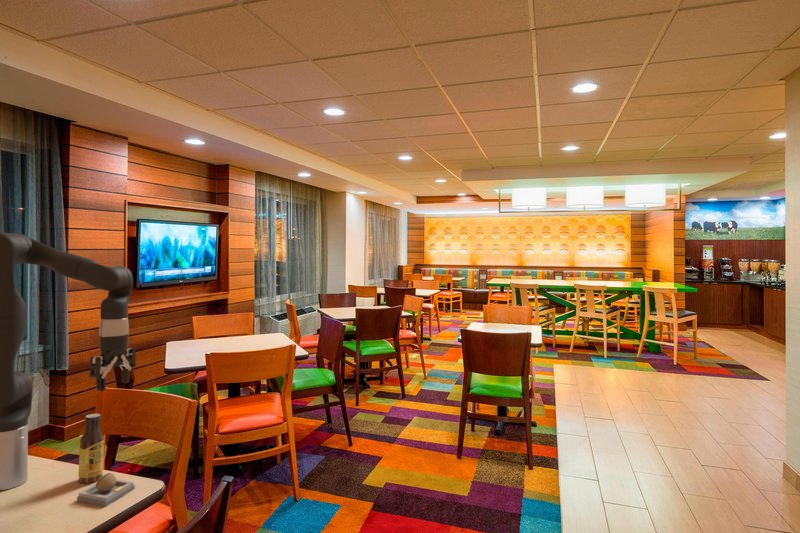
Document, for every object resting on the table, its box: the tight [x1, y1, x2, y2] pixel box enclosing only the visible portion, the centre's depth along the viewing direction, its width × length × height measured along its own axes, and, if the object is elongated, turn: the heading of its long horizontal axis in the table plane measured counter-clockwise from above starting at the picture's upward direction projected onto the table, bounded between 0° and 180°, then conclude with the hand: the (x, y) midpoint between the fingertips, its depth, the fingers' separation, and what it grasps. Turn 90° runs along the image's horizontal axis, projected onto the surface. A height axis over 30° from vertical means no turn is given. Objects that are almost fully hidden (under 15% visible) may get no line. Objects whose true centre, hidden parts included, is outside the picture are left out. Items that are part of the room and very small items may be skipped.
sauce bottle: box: [78, 413, 105, 484], centre depth 142 cm, size 7×6×20 cm
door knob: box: [95, 472, 117, 492], centre depth 134 cm, size 5×5×5 cm
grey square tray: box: [76, 478, 136, 507], centre depth 134 cm, size 10×10×2 cm
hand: (113, 386), depth 139 cm, fingers open, 8 cm apart
